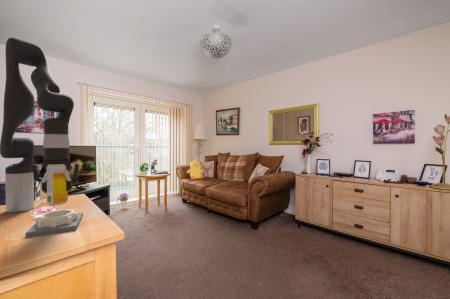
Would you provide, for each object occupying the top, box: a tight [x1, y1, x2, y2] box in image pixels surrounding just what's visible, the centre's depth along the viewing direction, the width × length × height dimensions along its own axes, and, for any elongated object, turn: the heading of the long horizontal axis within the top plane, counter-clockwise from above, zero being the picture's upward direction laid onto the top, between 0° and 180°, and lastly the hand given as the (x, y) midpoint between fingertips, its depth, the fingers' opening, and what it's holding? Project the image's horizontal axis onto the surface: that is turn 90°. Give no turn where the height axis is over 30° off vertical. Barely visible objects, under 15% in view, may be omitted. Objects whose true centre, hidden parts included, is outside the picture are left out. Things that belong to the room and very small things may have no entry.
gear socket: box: [25, 208, 84, 238], centre depth 77 cm, size 16×14×4 cm
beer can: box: [46, 164, 69, 207], centre depth 77 cm, size 6×6×15 cm
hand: (57, 191), depth 77 cm, fingers closed on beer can, 6 cm apart
